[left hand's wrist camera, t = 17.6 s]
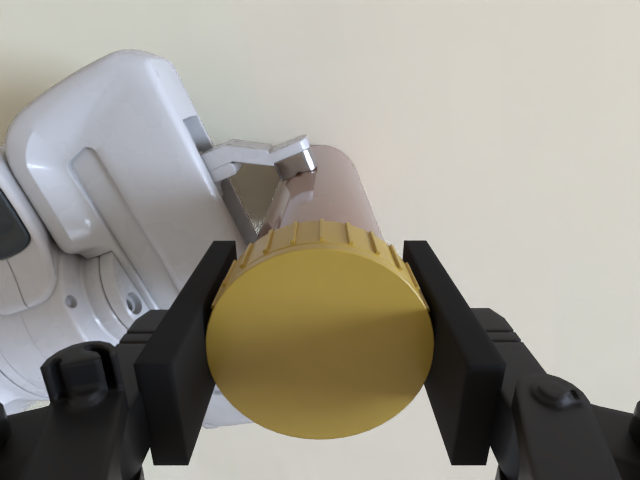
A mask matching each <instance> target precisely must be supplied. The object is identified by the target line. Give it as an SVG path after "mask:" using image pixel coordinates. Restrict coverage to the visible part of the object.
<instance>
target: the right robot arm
mask: <svg viewBox="0 0 640 480" xmlns="http://www.w3.org/2000/svg"><path fill="white" fill-rule="evenodd" d="M244 163H249V164H258V165H266V166H275V167H276V169H277V172H278V174H279V176H280V178H281V180H282V182H283V181H286V180H288V179H291V178H293V177H294V176H296V174H297V173H298V172H301V173H304V172H308V171H310V170H312V169H314V168H316V167H317V161H316V158H315V155H314V153H313V150H312V148H311V145H310V142H309V140H308V138H307V135H302V136H299V137H296V138H294V139H292V140H289V141H287V142H284V143H282V144H279V145H277V146H275V147H273V146H272V145H270V144H263V143H256V142H250V141H243V140H236V139H232V140H230V141H227V142H225V143H223V144H220V145H218V146H216V147H214V146H213V144H212V142H211V140H210V138H209V136H208V134H207V132H206V130H205V128H204V125H203V123H202V121H201V119H200V117H199V115H198V113H197V111H196V109H195V107H194V105H193V103H192V101H191V99H190V97H189V95H188V93H187V91H186V89H185V87H184V85H183V83H182V81H181V79H180V77H179V75H178V72H177V70H176V69H175V67H174V65H173V64H172V63H171V62H170V61H169V60H167V59H165V58H162V57H160V56H157V55H155V54H152V53H149V52H145V51H141V50H120V51H116V52H113V53H110V54H108V55H106V56H104V57H102V58H100V59H98V60H96V61H94V62H92V63H90V64H88V65H87V66H85V67H83V68H81V69H80V70H78V71H76V72H74V73H73V74H71V75H69V76H68V77H66V78H65V79H63V80H62V81H60V82H59V83H57V84H55V85H54V86H52V87H51V88H49V89H48V90H47V91H45V92H44V93H42V94H41V95H40V96H38V97H37V98H36V99H34V100H33V101H32V102H30V103H29V104H28V105H27V106H26V107H24V108H23V109H22V110H21V111H20V112H19V113H18V114H17V115H16V117H15V118H14V119H13V121H12V122H11V124H10V126H9V128H8V131H7V134H6V138H5V144H4V145H1V146H0V403H2V404H3V406H4V409H5V411H6V414H7V415H12V414H16V413H20V412H22V411H24V410H25V409H27V408H28V407H30V406H31V405H33V404H34V403H35V402H36V401H50V399H49V396H48V393H47V389H46V386H45V383H44V380H43V376H42V373H41V370H40V367H41V366H42V364H43V363H44V362H45V361H46V360H47V359H48V358H49V357H51V356H52V355H53V354H55V353H56V352H58V351H60V350H62V349H64V348H66V347H69V346H71V345H74V344H78V343H82V342H86V341H104V342H109V343H111V344H112V345H113V346H116V345H117V344H119V341H120V340H121V338H122V337H123V336H124V334H127V330H128V329H129V328H130V326H131V325H132V324H133V322H134V321H135V320H136V319H137V318H139V317H140V316H142V315H143V314H145V313H146V312H148V311H149V310H169V308H170V307H171V305H172V304H173V302H174V301H175V299H176V298H177V296H178V294H179V293H180V291H181V290H182V288H183V287H184V285H185V284H186V282H187V281H188V279H189V278H190V276H191V275H192V273H193V271H194V270H195V268H196V267H197V265H198V264H199V262H200V261H201V259H202V258H203V256H204V255H205V253H206V252H207V250H208V248H209V247H210V245H211V244H212V242H213V241H236V252H237V260H238V259H239V257H240V256H241V255H242V254H243V253H244V252H245V251H246V249H247V247H248V244H249V243H252V244H253V243H255V241H256V238H257V236H258V235H257V233H256V231H255V229H254V227H253V225H252V223H251V221H250V219H249V217H248V215H247V213H246V211H245V209H244V207H243V205H242V203H241V201H240V199H239V197H238V195H237V193H236V191H235V189H234V186H233V184H232V182H231V180H230V178H229V177H230V176H233V175H235V174H236V173H237V172H238V171H239V169H240V168H241V167H242V166H243V164H244ZM252 422H253V421H251V420H250V419H249V418H247V417H246V416H244V415H243V414H241V413H240V412H239V411H238V410H237V409H236V408H234V407H233V406H232V405H231V404H230V402H229V401H228V400H227V399H226V398H225V397H224V396H223V394H222V393H221V391H220V390H219V388H218V387H217V385H215V388H214V391H213V394H212V397H211V399H210V402H209V405H208V408H207V411H206V414H205V417H204V420H203V423H202V426H203V427H204V428H217V427H220V426H231V425H240V424H246V423H252Z"/></svg>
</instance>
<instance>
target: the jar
mask: <svg viewBox="0 0 640 480" xmlns="http://www.w3.org/2000/svg"><path fill="white" fill-rule="evenodd" d="M311 148H312V150H313V153H314V155H315V158H316V161H317V167H316V168H314V169H312V170H310V171H308V172H304V173H301V172H298V173H297V174H296V176H294V177H293V178H291V179H288V180H286V181H283V182H282V180H281V178H280V180H279V183H278V185H277V188H276V190H275V193H274V195H273V198H272V200H271V203H270V205H269V208H268V210H267V213H266V215H265V218H264V221H263V223H262V226H261V228H260V231H259V233H258V236H257V238H256V241H257V240H258V239H260V238H262V237H263V236H265V235H267V234H268V232H269V230H271V229H273V231H275V230H277V229H279V228H281V227H285V226H288V225H291V224H293V222H294V221H297V222H298V223H301V222H307V221H320V219H324V221H332V222H339V223H344V224H345V223H346V222H350V225H352V226H355V227H358V228H361V229H363V230H365V231H367V232H370V231H373V232H374V234H375V236H377V237H378V238H379V239H381V240H382V241H384V239H383V236H382V234H381V231H380V229H379V226H378V224H377V221H376V219H375V216H374V214H373V211H372V209H371V206H370V204H369V201H368V198H367V196H366V193H365V191H364V188H363V186H362V183H361V181H360V178H359V176H358V173H357V171H356V168H355V166H354V164H353V163H352V161H351V160H350V159H349V158H348V157H347V156H346V155H345V154H344V153H343V152H341V151H340V150H338V149H336V148H333V147H330V146H326V145H314V146H311ZM256 241H255V242H256ZM384 242H385V241H384Z"/></svg>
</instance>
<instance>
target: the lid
mask: <svg viewBox="0 0 640 480" xmlns="http://www.w3.org/2000/svg"><path fill="white" fill-rule="evenodd" d="M211 308H212V309H213V310H212V312H211V315H210V318H209V321H208V325H207V330H206V337H205V343H206V354H207V362H208V366H209V369H210V372H211V375H212V377H213V379H214V381H215V383H216V385H217V387H218V388H219V390H220V391H221V393H222V394H223V396H224V397H225V398H226V399H227V400H228V401H229V402H230V404H231V405H232V406H233V407H234V408H236V409H237V410H238V411H239V412H240V413H241V414H243V415H244V416H246V417H247V418H249V419H250V420H251V421H253V422H255V423H257V424H259V425H261V426H262V427H264V428H267V429H269V430H272V431H274V432H277V433H280V434H284V435H288V436H292V437H298V438H304V439H335V438H343V437H348V436H352V435H356V434H359V433H362V432H365V431H368V430H371V429H373V428H375V427H377V426H379V425H381V424H383V423H385V422H386V421H388V420H390V419H391V418H393V417H394V416H395V415H397V414H398V413H399V412H401V411H402V410H403V409H404V408H405V407H406V406H407V405H408V404H409V403H410V402H411V401H412V400H413V399H414V397H415V396H416V395H417V394H418V392H419V391H420V389H421V388H422V386H423V384H424V382H425V381H426V379H427V376H428V374H429V371H430V369H431V364H432V359H433V351H434V331H433V327H432V322H431V318H430V316H429V313H428V312H429V311H430V309H429V307H428V304H427V302H426V300H425V298H424V296H423V294H422V292H421V290H420V287H419V285H418V283H417V281H416V279H415V277H414V275H413V273H412V270H411V268H410V266H409V264H408V263H407V262H406V263H404V262H403V260H402V259H401V258H400V257H399V255H398V254H397V253H396V251H395V248H394V246H393V245H390V246H389V245H388V244H386V243H385V242H384V241H382V240H381V239H379V238H378V237H377V236H375V234H374V232H373V231H370V232H367V231H365V230H363V229H361V228H358V227H355V226H352V225H350V222H346V223H345V224H344V223H339V222H332V221H324V219H320V221H307V222H301V223H298V222H297V221H294V222H293V224H291V225H288V226H285V227H281V228H279V229H277V230H275V231H273V229H271V230H269V232H268V234H267V235H265V236H263V237H262V238H260V239H258V240H257V241H256V242H255V243H253V244H252V243H249V244H248V247H247V249H246V251H245V252H244V253H243V254H242V255H241V256H240V257H239V259H238V260H237V261H236V260H234V261H233V262H232V265H231V267H230V269H229V271H228V273H227V275H226V277H225V279H224V280H223V282H222V284H221V286H220V288H219V290H218V292H217V295H216V297H215V299H214V301H213V303H212V305H211Z"/></svg>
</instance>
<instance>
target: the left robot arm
mask: <svg viewBox="0 0 640 480" xmlns="http://www.w3.org/2000/svg"><path fill="white" fill-rule="evenodd" d="M234 260H236V261H237V252H236V241H213V242H212V244H211V245H210V247H209V248H208V250H207V252H206V253H205V255H204V256H203V258H202V259H201V261H200V262H199V264H198V265H197V267H196V268H195V270H194V271H193V273H192V275H191V276H190V278H189V279H188V281H187V282H186V284H185V285H184V287H183V288H182V290H181V291H180V293H179V294H178V296H177V298H176V299H175V301H174V302H173V304H172V305H171V307H170V308H169V310H149V311H148V312H146V313H145V314H143V315H142V316H140V317H139V318H137V319H136V320H135V321H134V322H133V324H132V325H131V326H130V328H129V329H128V330H127V334H124V336H123V337H122V338H121V340H120V341H119V344H117V345H116V346H113V345H112V344H111V343H109V342H104V341H86V342H82V343H78V344H74V345H71V346H69V347H66V348H64V349H62V350H60V351H58V352H56V353H55V354H53V355H52V356H51V357H49V358H48V359H47V360H46V361H45V362H44V363H43V364H42V366H41V367H40V370H41V373H42V376H43V380H44V383H45V386H46V389H47V393H48V396H49V399H50V405H49V406H46V407H43V408H39V409H34V410H30V411H25V412H21V413H16V414H12V415H7V414H6V411H5V409H4V406H3V404H2V403H0V480H144V473H143V468H142V463H143V461H144V459H145V457H146V454H147V452H148V450H149V448H150V449H151V454H152V459H153V464H154V465H188V464H189V461H190V458H191V455H192V452H193V450H194V447H195V444H196V441H197V438H198V435H199V432H200V429H201V426H202V423H203V420H204V417H205V414H206V411H207V408H208V405H209V402H210V399H211V397H212V394H213V391H214V388H215V385H216V383H215V381H214V379H213V377H212V375H211V372H210V369H209V366H208V362H207V354H206V343H205V337H206V330H207V325H208V321H209V318H210V315H211V312H212V310H213V309H212V308H211V305H212V303H213V301H214V299H215V297H216V295H217V292H218V290H219V288H220V286H221V284H222V282H223V280H224V279H225V277H226V275H227V273H228V271H229V269H230V267H231V265H232V262H233V261H234ZM403 262H404V263H406V262H407V263H408V264H409V266H410V268H411V270H412V273H413V275H414V277H415V279H416V281H417V283H418V285H419V287H420V290H421V292H422V294H423V296H424V298H425V300H426V302H427V304H428V307H429V309H430V311H429V312H428V313H429V316H430V318H431V322H432V327H433V331H434V351H433V359H432V364H431V369H430V371H429V374H428V376H427V379H426V381H425V382H424V385H425V388H426V391H427V394H428V397H429V400H430V403H431V406H432V409H433V412H434V415H435V418H436V421H437V424H438V427H439V430H440V433H441V436H442V438H443V441H444V444H445V447H446V450H447V453H448V456H449V459H450V462H451V465H486V462H487V458H488V453H489V448H490V446H491V449H492V451H493V453H494V455H495V457H496V459H497V462H498V468H497V473H496V478H495V480H640V401H639V402H637V405H636V408H635V411H634V413H633V414H632V413H627V412H623V411H618V410H614V409H609V408H605V407H600V406H596V405H593V404H590V402H589V400H588V399H587V397H586V396H585V395H584V393H583V392H582V391H581V390H579V389H578V388H577V387H576V386H574V385H573V384H571V383H569V382H567V381H565V380H563V379H561V378H559V377H556V376H552V375H549V374H547V373H546V372H545V371H544V369H543V368H542V367H541V365H540V364H539V363H538V362H537V360H536V359H535V358H534V356H533V355H532V354H531V352H530V351H529V350H528V348H527V347H526V346H525V345H524V343H523V342H521V339H520V338H519V337H518V335H517V334H516V333H515V332H513V329H512V328H511V326H510V325H509V324H508V322H507V321H506V320H505V318H503V317H502V316H500V315H499V314H497V313H496V312H494V311H493V310H491V309H490V308H470V307H469V306H468V304H467V303H466V301H465V299H464V298H463V296H462V295H461V293H460V292H459V290H458V289H457V287H456V286H455V284H454V283H453V281H452V280H451V278H450V276H449V275H448V273H447V272H446V270H445V269H444V267H443V266H442V264H441V263H440V261H439V260H438V258H437V257H436V255H435V253H434V252H433V250H432V249H431V247H430V246H429V244H428V243H427V241H404V249H403Z"/></svg>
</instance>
